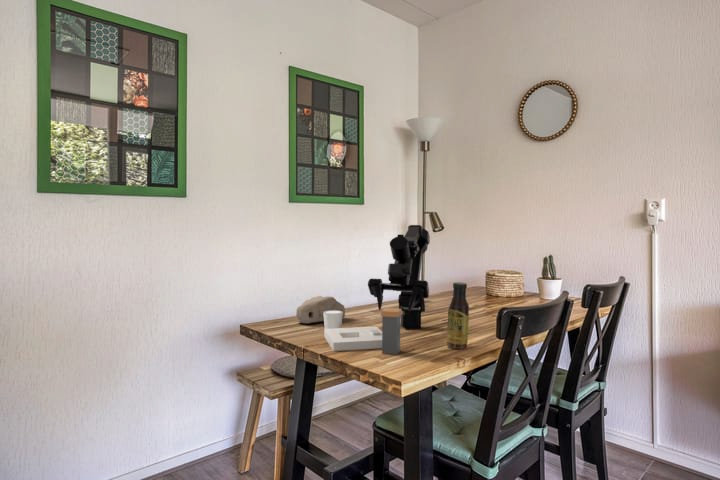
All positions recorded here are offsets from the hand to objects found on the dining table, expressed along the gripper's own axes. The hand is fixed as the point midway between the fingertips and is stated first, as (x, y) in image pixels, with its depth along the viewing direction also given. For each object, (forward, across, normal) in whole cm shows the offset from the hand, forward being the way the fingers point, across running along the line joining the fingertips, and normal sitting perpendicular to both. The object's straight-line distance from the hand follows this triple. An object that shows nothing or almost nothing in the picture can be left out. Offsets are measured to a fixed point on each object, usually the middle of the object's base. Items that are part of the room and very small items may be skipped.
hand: (394, 310), depth 136 cm
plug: (+11, 0, +6) cm, 12 cm away
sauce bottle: (+3, +18, +14) cm, 23 cm away
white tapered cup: (-2, -25, +19) cm, 32 cm away
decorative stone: (-12, -36, +29) cm, 47 cm away
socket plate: (+5, -13, +12) cm, 18 cm away
